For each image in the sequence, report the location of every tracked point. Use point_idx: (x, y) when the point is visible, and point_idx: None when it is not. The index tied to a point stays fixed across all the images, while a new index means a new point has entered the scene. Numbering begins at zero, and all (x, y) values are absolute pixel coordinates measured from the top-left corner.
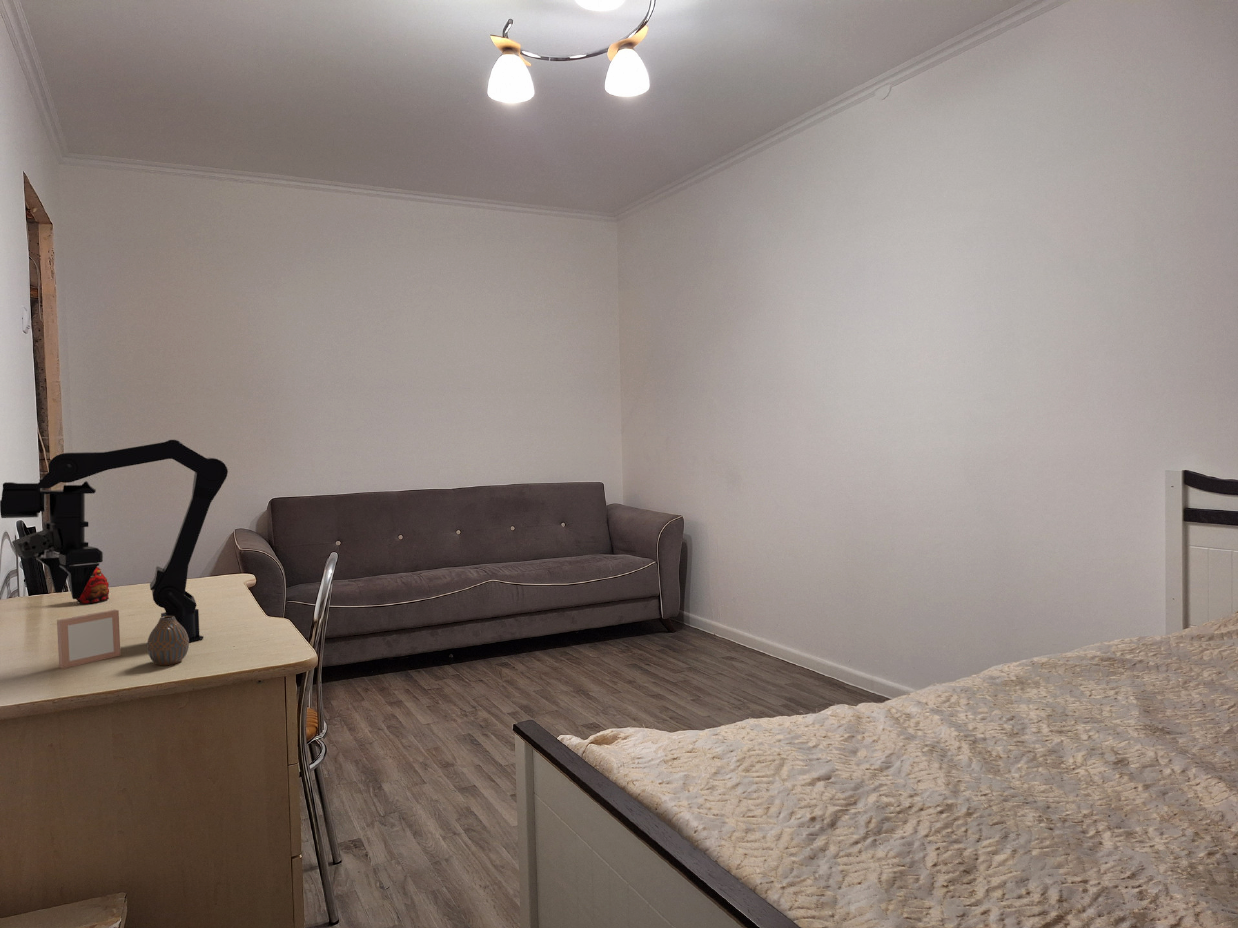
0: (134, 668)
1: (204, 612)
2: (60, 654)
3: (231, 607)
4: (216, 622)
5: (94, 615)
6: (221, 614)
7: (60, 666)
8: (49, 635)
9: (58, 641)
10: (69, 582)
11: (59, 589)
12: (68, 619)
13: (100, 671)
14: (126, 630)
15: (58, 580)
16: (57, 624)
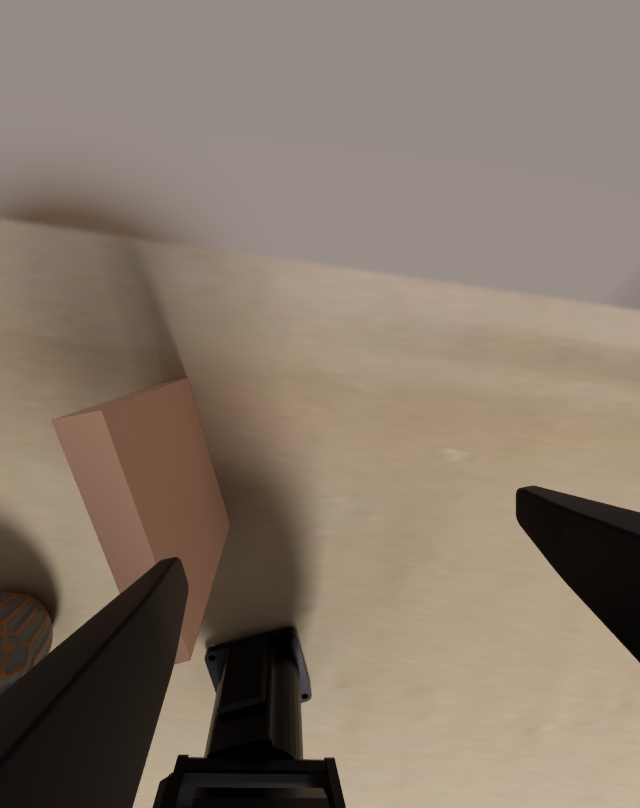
0: (6, 540)
1: (540, 742)
2: (155, 386)
3: (538, 793)
4: (402, 753)
5: (115, 573)
6: (482, 770)
7: (175, 380)
8: (621, 409)
9: (147, 391)
10: (57, 689)
11: (533, 520)
12: (70, 460)
13: (36, 462)
14: (501, 577)
15: (609, 569)
16: (109, 405)
